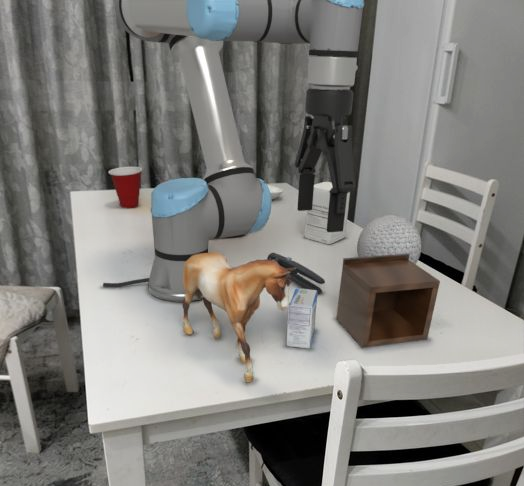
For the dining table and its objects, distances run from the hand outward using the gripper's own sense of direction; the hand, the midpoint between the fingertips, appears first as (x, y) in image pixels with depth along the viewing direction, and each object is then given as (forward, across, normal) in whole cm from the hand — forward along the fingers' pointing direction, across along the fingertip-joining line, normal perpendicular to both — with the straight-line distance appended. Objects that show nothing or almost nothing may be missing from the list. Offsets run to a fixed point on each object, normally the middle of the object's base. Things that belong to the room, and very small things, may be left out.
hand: (318, 220), depth 94 cm
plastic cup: (+21, +96, +26) cm, 102 cm away
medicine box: (+22, -4, +4) cm, 22 cm away
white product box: (+22, +51, -26) cm, 61 cm away
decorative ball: (+22, +20, -28) cm, 41 cm away
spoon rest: (+21, +98, -17) cm, 102 cm away
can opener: (+22, +22, -5) cm, 31 cm away
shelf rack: (+22, -4, -13) cm, 26 cm away
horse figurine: (+22, -4, +17) cm, 28 cm away
